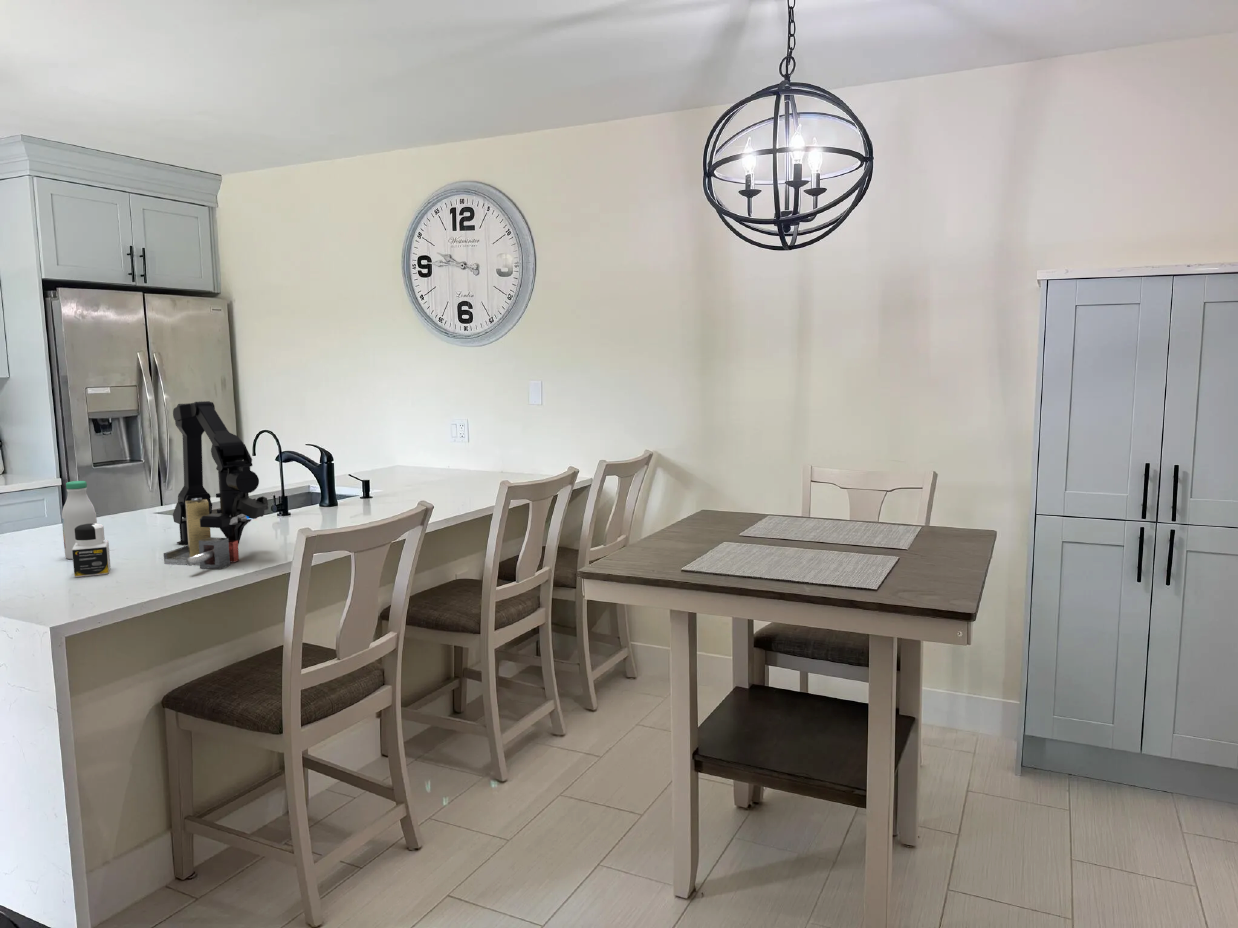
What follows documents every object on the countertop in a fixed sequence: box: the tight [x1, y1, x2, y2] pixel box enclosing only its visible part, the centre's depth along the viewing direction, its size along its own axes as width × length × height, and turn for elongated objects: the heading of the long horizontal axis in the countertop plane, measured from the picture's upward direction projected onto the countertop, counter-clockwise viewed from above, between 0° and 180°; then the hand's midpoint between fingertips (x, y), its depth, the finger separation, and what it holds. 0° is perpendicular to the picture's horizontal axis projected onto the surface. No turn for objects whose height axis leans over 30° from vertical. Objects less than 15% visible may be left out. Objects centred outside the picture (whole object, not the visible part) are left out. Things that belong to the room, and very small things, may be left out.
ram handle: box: [186, 540, 240, 566], centre depth 212 cm, size 5×15×5 cm, turn 169°
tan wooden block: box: [185, 498, 212, 557], centre depth 221 cm, size 5×5×15 cm
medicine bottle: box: [72, 522, 111, 578], centre depth 208 cm, size 7×7×12 cm
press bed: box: [163, 544, 200, 566], centre depth 222 cm, size 12×12×3 cm
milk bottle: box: [61, 480, 98, 560], centre depth 224 cm, size 8×8×20 cm
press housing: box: [199, 536, 231, 570], centre depth 214 cm, size 6×4×7 cm
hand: (235, 547), depth 222 cm, fingers closed
